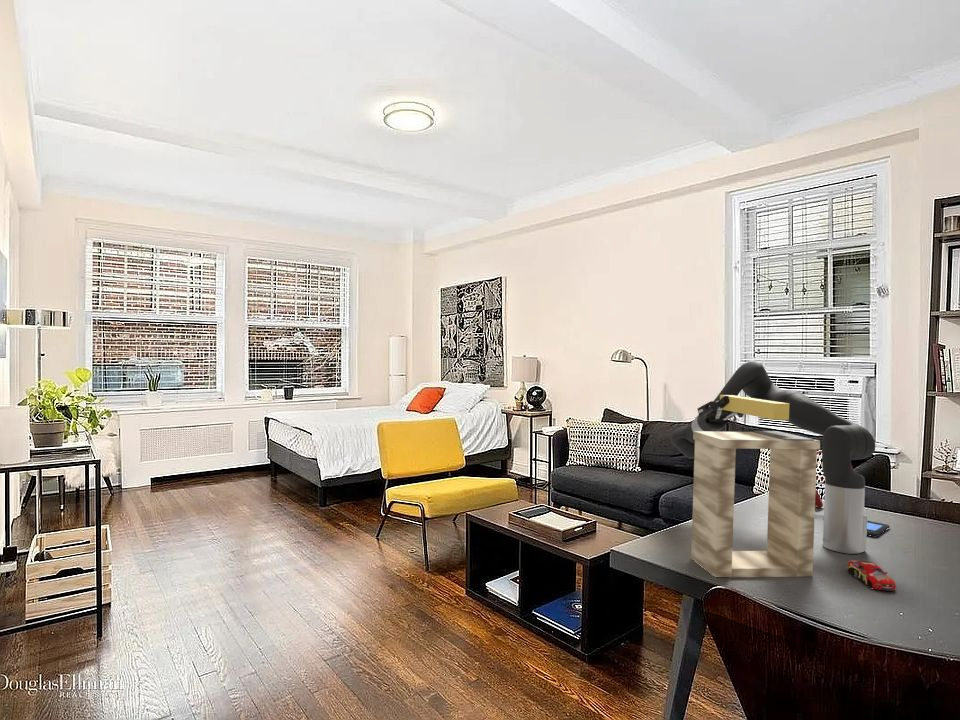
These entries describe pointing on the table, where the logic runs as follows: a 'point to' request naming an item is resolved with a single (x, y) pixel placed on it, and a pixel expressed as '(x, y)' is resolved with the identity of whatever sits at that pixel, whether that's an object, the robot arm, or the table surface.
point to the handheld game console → (875, 528)
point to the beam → (757, 407)
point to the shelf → (785, 507)
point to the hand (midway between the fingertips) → (735, 398)
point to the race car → (871, 575)
